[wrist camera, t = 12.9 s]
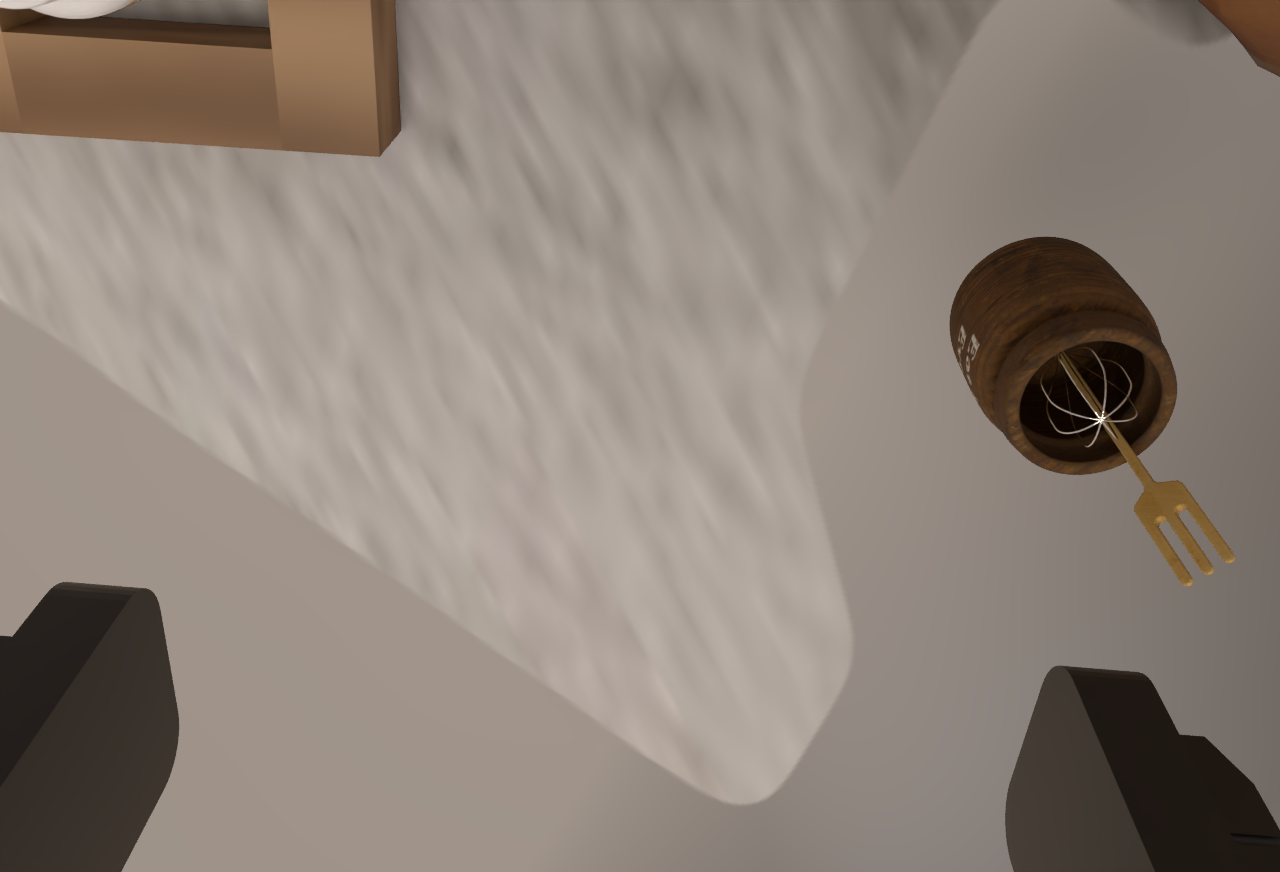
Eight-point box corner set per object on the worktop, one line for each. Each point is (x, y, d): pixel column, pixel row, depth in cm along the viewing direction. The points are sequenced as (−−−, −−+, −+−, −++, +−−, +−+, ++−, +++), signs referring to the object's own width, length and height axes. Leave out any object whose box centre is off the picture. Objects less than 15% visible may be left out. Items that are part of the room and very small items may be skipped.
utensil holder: (1058, 194, 38) (1197, 349, 28) (1153, 325, 40) (1316, 515, 30) (910, 301, 40) (988, 483, 30) (1009, 420, 42) (1113, 629, 32)
